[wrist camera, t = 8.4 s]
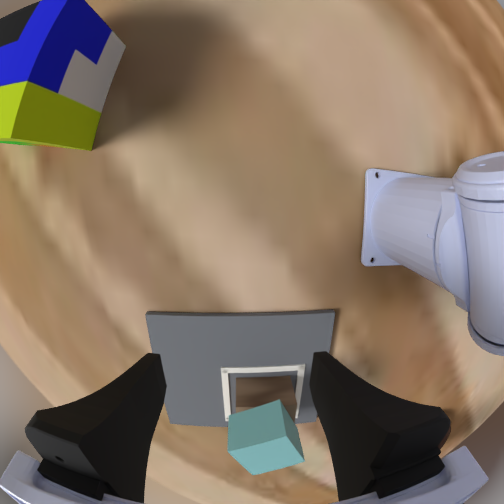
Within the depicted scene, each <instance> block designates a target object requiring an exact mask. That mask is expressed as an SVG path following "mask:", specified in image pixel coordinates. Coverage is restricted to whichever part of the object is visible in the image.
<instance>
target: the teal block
mask: <svg viewBox="0 0 504 504" xmlns="http://www.w3.org/2000/svg"><path fill="white" fill-rule="evenodd" d="M228 452H229V453H230V454H231V455H232V456H233V457H234V458H235V459H236V460H237V461H238V462H239V463H240V464H241V465H242V466H243V467H244V468H245V469H247V470H248V471H249V472H250V473H251V474H252V475H256V474H260V473H265V472H269V471H273V470H277V469H281V468H284V467H288V466H291V465H295V464H298V463H301V462H304V461H305V460H304V455H303V451H302V446H301V442H300V438H299V433H298V429H297V427H296V425H295V423H294V422H293V420H292V419H291V417H290V415H289V414H288V412H287V411H286V409H285V407H284V406H283V404H282V402H281V401H280V399H279V400H276V401H273V402H270V403H267V404H264V405H261V406H258V407H255V408H252V409H249V410H245V411H242V412H239V413H235V414H232V415H229V421H228Z"/></svg>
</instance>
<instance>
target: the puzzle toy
mask: <svg viewBox="0 0 504 504" xmlns="http://www.w3.org/2000/svg"><path fill="white" fill-rule="evenodd" d="M125 48H126V46H125V44H124V43H123V42H122V41H121V40H120V39H119V38H118V36H117V35H116V34H115V33H114V32H113V31H112V30H111V29H110V28H109V26H108V25H107V24H106V23H105V22H104V21H103V20H102V19H101V18H100V16H99V15H98V14H97V13H96V12H95V11H94V10H93V9H92V8H91V7H90V6H89V5H88V3H87V2H86V1H85V0H42V1H39V2H37V3H34V4H31V5H29V6H27V7H24V8H22V9H20V10H18V11H15V12H13V13H11V14H9V15H7V16H5V17H3V18H1V19H0V143H8V144H18V145H34V146H48V147H60V148H71V149H80V150H89V151H91V150H92V146H93V142H94V138H95V134H96V130H97V127H98V123H99V119H100V116H101V113H102V109H103V106H104V103H105V100H106V97H107V94H108V91H109V88H110V85H111V83H112V80H113V77H114V74H115V72H116V69H117V67H118V64H119V62H120V59H121V57H122V55H123V52H124V50H125Z"/></svg>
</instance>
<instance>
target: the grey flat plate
mask: <svg viewBox="0 0 504 504" xmlns="http://www.w3.org/2000/svg"><path fill="white" fill-rule="evenodd" d="M145 315H146V321H147V327H148V332H149V338H150V343H151V348H152V353H155V354H160V356H161V361H162V366H163V371H164V375H165V380H166V384H167V388H166V394H165V399H164V403H165V406H166V410H167V413H168V417H169V420H170V423H171V424H181V425H194V426H214V427H228V421H229V415H232V414H235V413H236V378H243V377H274V376H290V377H291V381H292V385H293V389H294V393H295V397H296V401H297V410H296V417H295V424H299V423H308V422H316V418H317V411H316V409H315V406H314V403H313V400H312V396H311V391H310V386H309V382H310V375H311V368H312V361H313V354H314V352H322V351H327V352H328V353H329V351H330V345H331V339H332V332H333V325H334V317H335V312H334V310H316V311H297V312H269V313H175V312H148V311H147V313H146V314H145Z"/></svg>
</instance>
